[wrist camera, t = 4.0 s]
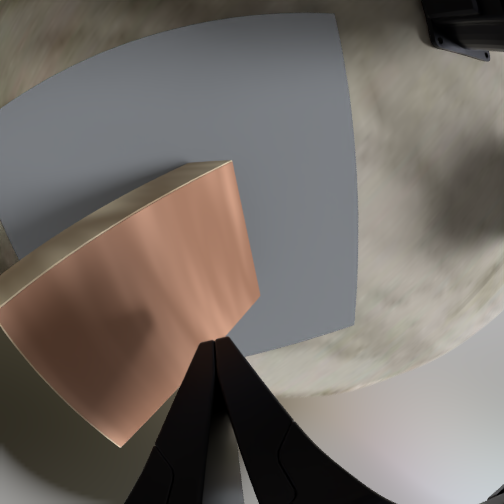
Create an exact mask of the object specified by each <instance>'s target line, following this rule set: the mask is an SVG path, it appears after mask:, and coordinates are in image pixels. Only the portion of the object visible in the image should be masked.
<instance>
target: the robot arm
mask: <svg viewBox="0 0 504 504" xmlns="http://www.w3.org/2000/svg"><path fill="white" fill-rule="evenodd" d="M422 4H423V7H424V11H425V15H426V19H427V24H428V28H429V33H430V38H431V42H432V44H433V45H434V46H435V47H436V48H438V49H443V50H447V51H451V52H455V53H458V54H462V55H465V56H469V57H472V58H475V59H479V60H482V61H490V54H489V51H498V52H504V0H422ZM438 41H439V42H438ZM237 443H238V445H237ZM155 445H156V446H154V447H153V449H152V451H151V454H150V456H149V458H148V460H147V462H146V464H145V467H144V469H143V471H142V473H141V475H140V477H139V479H138V480H137V482H136V484H135V486H134V487H133V489H132V491H131V492H130V494H129V496H128V498H127V499H126V501H125V503H124V504H244V499H243V490H242V481H241V473H240V464H239V455H238V446H239V449H240V452H241V455H242V458H243V461H244V464H245V467H246V470H247V472H248V475H249V478H250V481H251V483H252V486H253V489H254V492H255V494H256V497H257V499H258V502H259V504H396V503H394V502H392V501H390V500H388V499H386V498H384V497H382V496H381V495H379V494H377V493H376V492H374V491H373V490H371V489H370V488H368V487H367V486H366V485H364V484H363V483H362V482H360V481H358V479H356V478H355V477H353V476H352V475H351V474H349V473H348V472H347V471H346V470H344V469H343V468H342V467H341V466H339V465H338V464H337V463H336V462H334V461H333V460H332V459H331V458H330V457H329V456H327V455H326V454H325V453H324V452H323V451H322V450H321V449H320V448H319V447H318V446H317V445H316V444H315V443H314V442H313V441H312V440H311V439H310V438H309V437H308V436H307V435H306V434H305V433H304V432H303V430H302V429H301V428H300V427H299V426H298V425H297V423H296V422H294V420H293V419H292V418H291V416H290V415H289V414H288V412H287V411H286V410H285V409H284V408H283V406H282V405H281V404H280V403H279V401H278V400H277V399H276V398H275V396H274V395H273V394H272V392H271V391H270V390H269V389H268V387H267V386H266V385H265V384H264V382H263V381H262V380H261V378H260V377H259V376H258V374H257V373H256V372H255V370H254V369H253V368H252V367H251V365H250V364H249V363H248V361H247V360H246V359H245V357H244V356H243V354H242V353H241V352H240V350H239V349H238V348H237V346H236V345H235V344H234V342H233V341H232V339H231V338H230V337H229V336H226V337H222V338H217V339H216V340H215V341H214V340H209V341H204V342H201V343H200V344H199V345H198V347H197V350H196V352H195V354H194V356H193V359H192V361H191V363H190V365H189V368H188V370H187V372H186V374H185V377H184V379H183V381H182V383H181V386H180V388H179V390H178V392H177V395H176V397H175V399H174V401H173V404H172V406H171V408H170V411H169V413H168V415H167V417H166V420H165V422H164V424H163V426H162V429H161V431H160V433H159V435H158V438H157V440H156V442H155ZM480 504H504V485H502V486H501V487H500V488H499V489H498V490H497V491H496V492H495V493H493V494H492V495H491V496H490V497H489V498H488V499H487V501H485V502H483V503H480Z"/></svg>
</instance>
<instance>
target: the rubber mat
mask: <svg viewBox="0 0 504 504" xmlns="http://www.w3.org/2000/svg"><path fill="white" fill-rule="evenodd" d="M223 160H232V162H233V167H234V172H235V176H236V181H237V186H238V191H239V195H240V200H241V205H242V210H243V215H244V219H245V224H246V229H247V234H248V238H249V243H250V248H251V253H252V257H253V262H254V267H255V272H256V276H257V281H258V286H259V291H260V295H261V296H260V297H259V298H258V299H257V301H256V302H255V303H254V304H253V305H252V306H251V308H250V309H249V310H248V311H247V312H246V313H245V314H244V316H243V317H242V318H241V319H240V320H239V321H238V322H237V324H236V325H235V326H234V327H233V328H232V329H231V330H230V331H229V333H228V334H227V335H226V336H229V337H230V338H231V339H232V341H233V342H234V344H235V345H236V346H237V348H238V349H239V350H240V352H241V353H242V354H243V356H244V357H246V356H250V355H254V354H258V353H262V352H266V351H270V350H273V349H277V348H281V347H285V346H288V345H292V344H295V343H299V342H302V341H305V340H309V339H312V338H315V337H319V336H322V335H325V334H328V333H331V332H334V331H337V330H340V329H343V328H346V327H349V326H352V325H354V320H355V307H356V292H357V269H358V193H357V171H356V156H355V143H354V132H353V122H352V113H351V104H350V97H349V89H348V82H347V76H346V70H345V64H344V58H343V52H342V47H341V42H340V37H339V32H338V28H337V23H336V19H335V14H330V13H278V14H263V15H251V16H242V17H234V18H227V19H221V20H214V21H209V22H203V23H198V24H193V25H189V26H184V27H180V28H176V29H172V30H168V31H164V32H161V33H157V34H154V35H150V36H147V37H144V38H141V39H138V40H135V41H132V42H129V43H126V44H123V45H120V46H118V47H115V48H112V49H110V50H107V51H105V52H102V53H100V54H97V55H95V56H93V57H90V58H88V59H86V60H84V61H82V62H79V63H77V64H75V65H73V66H71V67H69V68H67V69H65V70H63V71H61V72H59V73H57V74H55V75H54V76H52V77H50V78H48V79H46V80H44V81H43V82H41V83H39V84H38V85H36V86H34V87H33V88H31V89H29V90H28V91H26V92H24V93H23V94H21V95H20V96H18V97H17V98H15V99H14V100H12V101H11V102H9V103H8V104H6V105H5V106H3V107H2V108H1V109H0V219H1V222H2V224H3V227H4V229H5V231H6V234H7V236H8V238H9V240H10V242H11V244H12V247H13V249H14V251H15V253H16V255H17V257H18V259H19V261H20V260H21V259H22V258H24V257H25V256H27V255H28V254H29V253H31V252H32V251H34V250H35V249H37V248H38V247H39V246H41V245H42V244H44V243H45V242H47V241H48V240H50V239H51V238H53V237H54V236H56V235H57V234H59V233H60V232H62V231H64V230H65V229H67V228H68V227H70V226H72V225H73V224H75V223H76V222H78V221H80V220H81V219H83V218H85V217H86V216H88V215H90V214H91V213H93V212H95V211H96V210H98V209H100V208H102V207H103V206H105V205H107V204H109V203H110V202H112V201H114V200H116V199H118V198H119V197H121V196H123V195H125V194H127V193H129V192H131V191H132V190H134V189H136V188H138V187H140V186H142V185H144V184H146V183H148V182H150V181H152V180H154V179H156V178H158V177H160V176H162V175H164V174H166V173H168V172H170V171H172V170H175V169H177V168H179V167H181V166H183V165H185V164H187V163H192V162H206V161H223ZM226 336H225V337H226Z"/></svg>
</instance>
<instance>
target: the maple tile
mask: <svg viewBox="0 0 504 504" xmlns="http://www.w3.org/2000/svg"><path fill="white" fill-rule="evenodd" d="M260 296H261V295H260V291H259V286H258V281H257V276H256V272H255V267H254V262H253V257H252V253H251V248H250V243H249V238H248V234H247V229H246V224H245V219H244V215H243V210H242V205H241V200H240V195H239V191H238V186H237V181H236V176H235V172H234V167H233V162H232V160H223V161H206V162H192V163H187V164H185V165H183V166H181V167H179V168H177V169H175V170H172V171H170V172H168V173H166V174H164V175H162V176H160V177H158V178H156V179H154V180H152V181H150V182H148V183H146V184H144V185H142V186H140V187H138V188H136V189H134V190H132V191H131V192H129V193H127V194H125V195H123V196H121V197H119V198H118V199H116V200H114V201H112V202H110V203H109V204H107V205H105V206H103V207H102V208H100V209H98V210H96V211H95V212H93V213H91V214H90V215H88V216H86V217H85V218H83V219H81V220H80V221H78V222H76V223H75V224H73V225H72V226H70V227H68V228H67V229H65V230H64V231H62V232H60V233H59V234H57V235H56V236H54V237H53V238H51V239H50V240H48V241H47V242H45V243H44V244H42V245H41V246H39V247H38V248H37V249H35V250H34V251H32V252H31V253H29V254H28V255H27V256H25V257H24V258H22V259H21V260H20V261H18V262H17V263H16V264H14V265H13V266H12V267H10V268H9V269H8V270H6V271H5V272H4V273H2V274H1V275H0V326H1V328H2V329H3V331H4V332H5V333H6V335H7V336H8V337H9V339H10V340H11V341H12V343H13V344H14V345H15V347H16V348H17V349H18V350H19V352H20V353H21V354H22V355H23V356H24V358H25V359H26V360H27V361H28V363H29V364H30V365H31V366H32V367H33V368H34V369H35V371H36V372H37V373H38V374H39V375H40V376H41V377H42V378H43V379H44V381H45V382H46V383H47V384H48V385H49V386H50V387H51V388H52V389H53V390H54V391H55V392H56V393H57V394H58V395H59V396H60V397H61V398H62V399H63V400H64V401H65V402H66V403H67V404H68V405H69V406H70V407H72V408H73V409H74V410H75V411H76V412H77V413H78V414H79V415H80V416H81V417H83V418H84V419H85V420H86V421H87V422H88V423H90V424H91V425H92V426H93V427H94V428H96V429H97V430H98V431H99V432H100V433H102V434H103V435H104V436H106V437H107V438H108V439H109V440H111V441H112V442H113V443H115V444H116V445H117V446H119V447H122V446H123V445H124V444H125V443H126V442H127V440H129V439H130V438H131V437H132V436H133V435H134V434H135V433H136V432H137V430H138V429H139V428H140V427H141V426H142V425H143V424H144V423H145V422H146V421H147V420H148V419H149V418H150V417H151V416H152V415H153V414H154V413H155V412H156V411H157V410H158V409H159V408H160V407H161V405H163V404H164V402H165V401H166V400H167V399H168V398H169V397H170V396H171V395H172V394H173V393H174V392H175V391H176V390H177V389H178V388H179V387H180V385H181V383H182V381H183V379H184V377H185V374H186V372H187V370H188V368H189V365H190V363H191V361H192V359H193V356H194V354H195V352H196V350H197V347H198V345H199V344H200V343H201V342H204V341H209V340H214V341H215V340H216V339H217V338H222V337H225V336H226V335H227V334H228V333H229V331H230V330H231V329H232V328H233V327H234V326H235V325H236V324H237V322H238V321H239V320H240V319H241V318H242V317H243V316H244V314H245V313H246V312H247V311H248V310H249V309H250V308H251V306H252V305H253V304H254V303H255V302H256V301H257V299H258V298H259V297H260Z"/></svg>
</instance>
